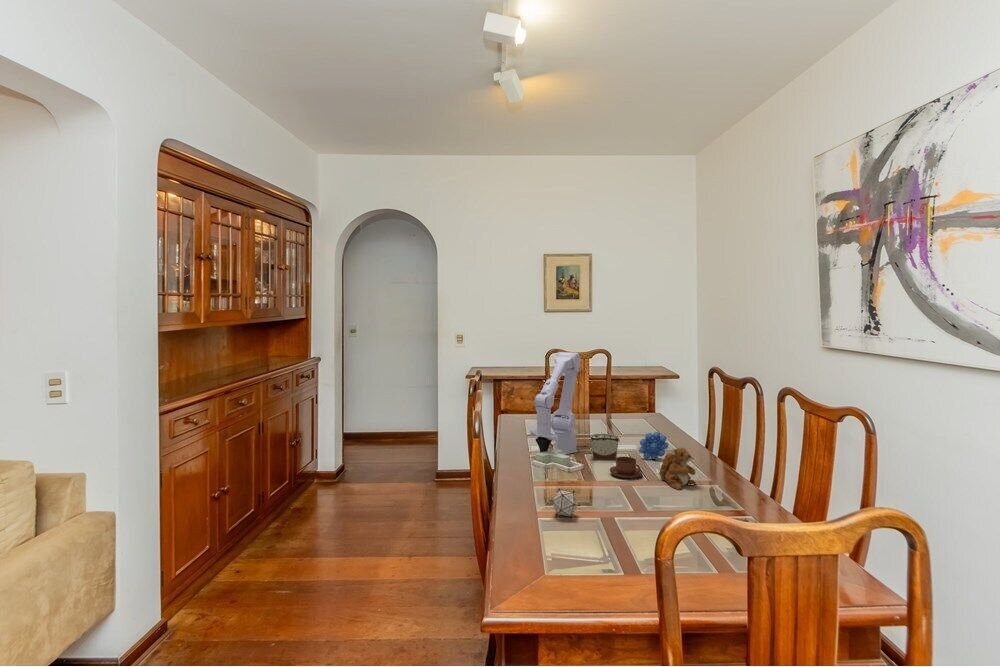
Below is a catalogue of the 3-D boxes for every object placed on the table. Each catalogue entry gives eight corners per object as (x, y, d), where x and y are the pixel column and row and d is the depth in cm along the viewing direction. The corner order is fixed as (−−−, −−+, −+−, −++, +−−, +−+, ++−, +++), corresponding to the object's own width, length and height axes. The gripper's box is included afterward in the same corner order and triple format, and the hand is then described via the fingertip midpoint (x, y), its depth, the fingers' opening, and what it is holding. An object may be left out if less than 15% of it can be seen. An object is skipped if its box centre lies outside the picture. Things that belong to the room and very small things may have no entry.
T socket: (559, 457, 217) (559, 453, 216) (590, 466, 203) (590, 463, 203) (532, 464, 207) (532, 460, 207) (562, 474, 194) (562, 470, 193)
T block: (556, 458, 216) (556, 448, 215) (577, 464, 206) (577, 454, 206) (535, 463, 208) (535, 453, 208) (556, 470, 199) (556, 460, 199)
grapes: (668, 458, 214) (668, 430, 214) (667, 463, 208) (668, 433, 208) (639, 456, 219) (640, 428, 218) (638, 460, 212) (638, 431, 212)
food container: (617, 456, 217) (618, 433, 217) (619, 461, 211) (620, 437, 211) (588, 456, 218) (588, 433, 218) (589, 460, 212) (589, 436, 212)
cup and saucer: (645, 473, 195) (645, 457, 195) (637, 482, 185) (638, 466, 184) (614, 468, 201) (615, 453, 201) (605, 477, 190) (605, 461, 190)
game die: (558, 526, 155) (546, 495, 160) (584, 515, 156) (571, 485, 160) (558, 522, 147) (545, 490, 152) (585, 511, 148) (571, 479, 153)
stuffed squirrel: (679, 491, 175) (680, 453, 175) (650, 479, 188) (651, 443, 188) (700, 486, 180) (701, 449, 179) (671, 475, 192) (671, 440, 192)
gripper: (524, 421, 215) (524, 453, 216) (549, 427, 204) (549, 460, 205) (537, 419, 220) (537, 450, 220) (561, 424, 208) (561, 457, 209)
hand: (543, 455), depth 213 cm, fingers closed
